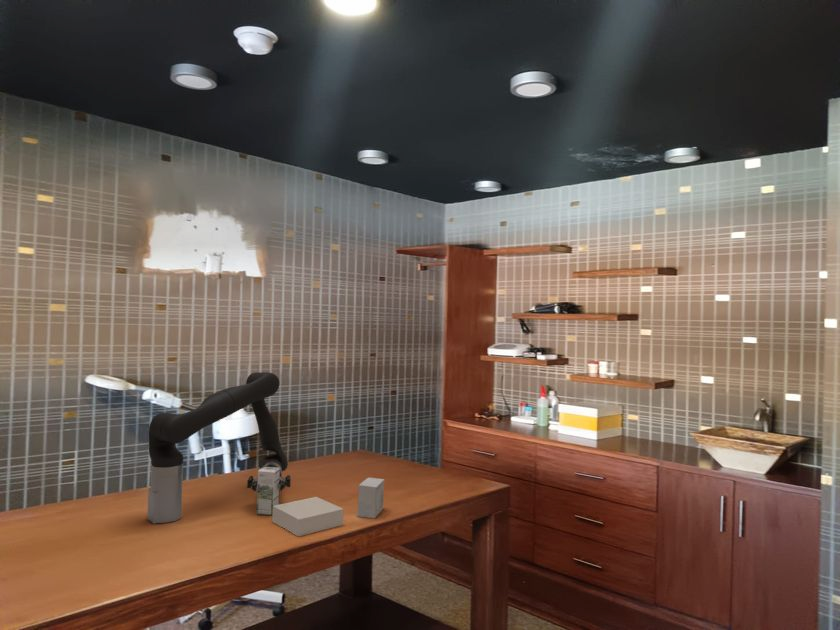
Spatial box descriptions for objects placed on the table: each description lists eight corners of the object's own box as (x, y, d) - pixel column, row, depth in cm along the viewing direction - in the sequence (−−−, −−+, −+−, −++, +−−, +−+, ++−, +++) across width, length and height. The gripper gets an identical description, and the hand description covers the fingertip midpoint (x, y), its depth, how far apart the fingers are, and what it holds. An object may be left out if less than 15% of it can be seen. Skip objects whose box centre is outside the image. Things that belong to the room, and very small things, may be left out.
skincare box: (375, 518, 186) (376, 486, 186) (356, 517, 187) (357, 485, 188) (384, 509, 196) (384, 478, 197) (366, 507, 198) (367, 476, 198)
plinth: (298, 536, 169) (298, 519, 169) (272, 521, 181) (272, 505, 181) (343, 524, 180) (343, 508, 180) (315, 511, 191) (316, 496, 191)
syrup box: (278, 510, 192) (280, 466, 192) (272, 516, 186) (274, 471, 186) (262, 509, 193) (263, 466, 193) (255, 514, 187) (257, 470, 187)
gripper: (250, 464, 203) (246, 476, 187) (291, 463, 206) (290, 475, 190) (249, 485, 203) (245, 499, 187) (290, 484, 206) (289, 498, 190)
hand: (268, 487), depth 188 cm, fingers open, 8 cm apart
